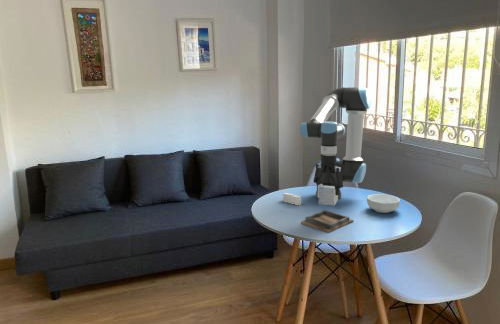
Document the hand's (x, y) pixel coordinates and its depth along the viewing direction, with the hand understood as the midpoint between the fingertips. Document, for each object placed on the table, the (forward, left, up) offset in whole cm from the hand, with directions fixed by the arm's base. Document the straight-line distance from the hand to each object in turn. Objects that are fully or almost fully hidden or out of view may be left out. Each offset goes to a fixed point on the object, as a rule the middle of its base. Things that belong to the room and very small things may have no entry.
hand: (327, 199), depth 199 cm
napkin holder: (-10, -33, -13) cm, 37 cm away
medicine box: (0, 0, -3) cm, 3 cm away
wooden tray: (0, 0, -12) cm, 12 cm away
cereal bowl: (-35, +10, -13) cm, 39 cm away
